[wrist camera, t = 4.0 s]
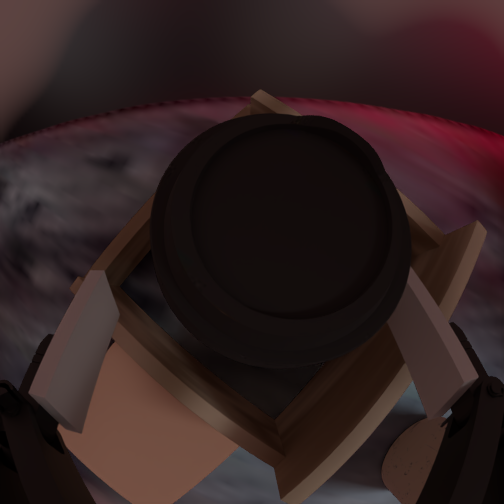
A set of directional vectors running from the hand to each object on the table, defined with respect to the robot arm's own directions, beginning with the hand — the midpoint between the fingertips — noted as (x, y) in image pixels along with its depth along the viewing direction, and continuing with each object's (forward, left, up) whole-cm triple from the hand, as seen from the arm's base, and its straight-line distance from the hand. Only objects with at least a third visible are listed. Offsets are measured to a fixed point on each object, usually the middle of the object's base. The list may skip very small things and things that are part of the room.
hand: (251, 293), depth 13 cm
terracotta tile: (-1, +15, -9) cm, 18 cm away
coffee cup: (0, -2, -9) cm, 10 cm away
